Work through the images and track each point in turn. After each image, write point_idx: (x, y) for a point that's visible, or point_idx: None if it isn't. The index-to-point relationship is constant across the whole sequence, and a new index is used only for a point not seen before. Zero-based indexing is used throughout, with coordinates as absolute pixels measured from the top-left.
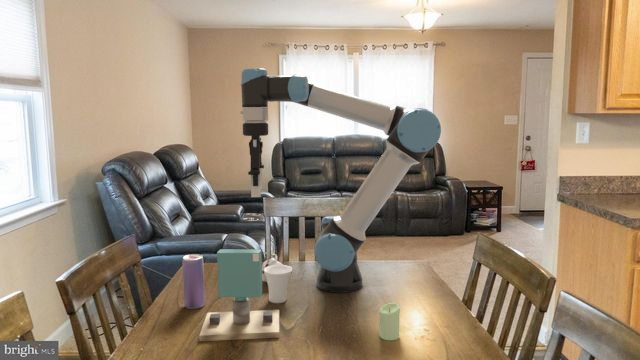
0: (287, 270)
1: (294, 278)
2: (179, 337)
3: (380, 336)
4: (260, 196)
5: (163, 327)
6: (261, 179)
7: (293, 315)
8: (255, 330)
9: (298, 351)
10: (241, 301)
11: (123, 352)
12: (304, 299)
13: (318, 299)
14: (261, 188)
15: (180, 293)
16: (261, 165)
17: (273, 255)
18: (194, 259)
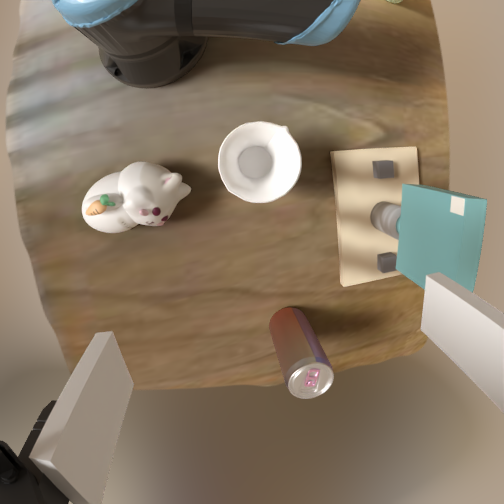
0: (235, 139)
1: (113, 148)
2: (400, 299)
3: (397, 2)
4: (441, 274)
5: (367, 334)
6: (88, 386)
7: (331, 123)
8: None
9: (442, 119)
10: None
11: (422, 344)
12: (247, 104)
13: (246, 75)
14: (112, 341)
15: (228, 364)
16: (7, 483)
17: (104, 205)
18: (331, 371)
